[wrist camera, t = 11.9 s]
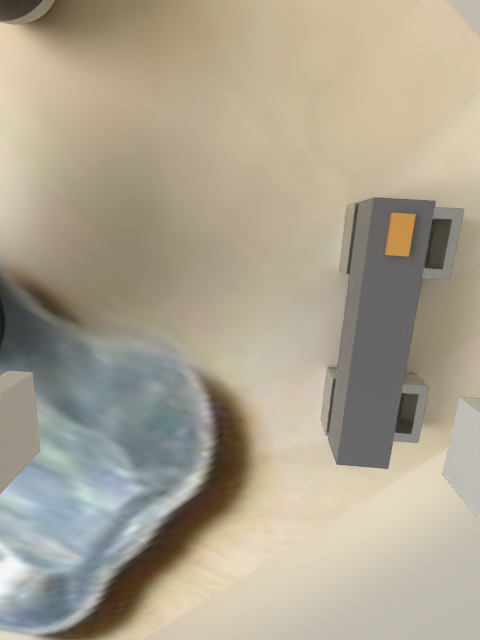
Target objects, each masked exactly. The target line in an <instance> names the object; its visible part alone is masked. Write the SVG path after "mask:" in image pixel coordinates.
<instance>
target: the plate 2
mask: <svg viewBox="0 0 480 640" xmlns="http://www.w3.org/2000/svg"><path fill="white" fill-rule="evenodd" d="M358 205H359V203H353V204H350V205H347V211H346V219H345V227H344V235H343V243H342V251H341V259H340V268H339V271H342V272H344V273H346V274H350V266H351V259H352V251H353V243H354V236H355V228H356V220H357V213H358ZM463 212H464V209H459V208H441V207H435V208H434V214H433V219H432V221H435V226H434V231H433V237H432V242H431V248H430V253H429V259H428V264H427V266H424V270H423V276H422V279H437V280H450V278H451V273H452V268H453V263H454V258H455V253H456V248H457V243H458V238H459V232H460V227H461V222H462V217H463Z"/></svg>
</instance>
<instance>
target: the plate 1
mask: <svg viewBox="0 0 480 640" xmlns="http://www.w3.org/2000/svg"><path fill="white" fill-rule="evenodd" d="M336 374H337V368H327V373H326V381H325V390H324V398H323V406H322V414H321V423H322V426H323V429H324V432H325V435H326V436H329V428H330V420H331V413H332V405H333V397H334V390H335V382H336ZM428 390H429V386H428V385H427V384H426V383H425V382H424V381H423V380H422V379H421V378H420V377H418V376H417V375H416V374H407V373H405V377H404V382H403V388H402V393H404V398H403V404H402V409H401V415H400V419H397V422H396V427H395V433H394V439H393V441H400V442H412V443H418V441H419V436H420V431H421V426H422V421H423V416H424V411H425V405H426V400H427V395H428Z"/></svg>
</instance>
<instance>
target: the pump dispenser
mask: <svg viewBox="0 0 480 640" xmlns="http://www.w3.org/2000/svg"><path fill="white" fill-rule="evenodd" d="M54 2H55V0H0V22H2V23H6V24H25V23H29V22H32V21H35V20H37V19H38V18H40V17H41V16H43V15H44V14H45V13H46V12H47V11H48V10H49V9H50V8H51V6H52V5H53V3H54Z"/></svg>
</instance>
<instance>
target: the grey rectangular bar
mask: <svg viewBox="0 0 480 640" xmlns="http://www.w3.org/2000/svg"><path fill="white" fill-rule="evenodd" d="M435 202H436V201H428V200H410V199H392V198H371V199H368V200H364V201H361V202H359V205H358V213H357V220H356V228H355V236H354V243H353V251H352V259H351V266H350V274H349V282H348V290H347V297H346V305H345V313H344V320H343V328H342V336H341V343H340V351H339V359H338V366H337V374H336V382H335V390H334V397H333V405H332V413H331V420H330V428H329V436H328V440H329V443H330V446H331V449H332V452H333V455H334V458H335V461H336V464H337V465H348V466H360V467H372V468H384V469H388V467H389V461H390V455H391V450H392V444H393V439H394V433H395V427H396V422H397V416H398V410H399V405H400V399H401V394H402V388H403V382H404V377H405V371H406V365H407V360H408V354H409V349H410V343H411V337H412V332H413V326H414V320H415V315H416V309H417V304H418V298H419V292H420V287H421V281H422V276H423V270H424V264H425V259H426V253H427V247H428V242H429V236H430V231H431V225H432V219H433V214H434V208H435Z"/></svg>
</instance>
